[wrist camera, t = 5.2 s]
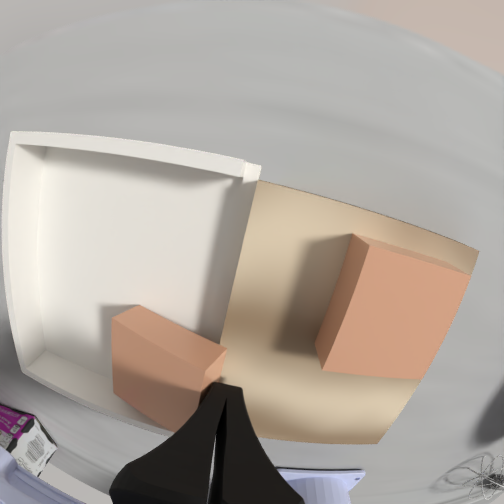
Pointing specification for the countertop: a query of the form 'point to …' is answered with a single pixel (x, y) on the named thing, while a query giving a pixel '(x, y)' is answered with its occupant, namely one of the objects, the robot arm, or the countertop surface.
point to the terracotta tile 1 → (162, 366)
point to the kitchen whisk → (496, 483)
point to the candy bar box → (25, 440)
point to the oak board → (310, 317)
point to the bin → (114, 251)
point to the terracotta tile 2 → (388, 311)
